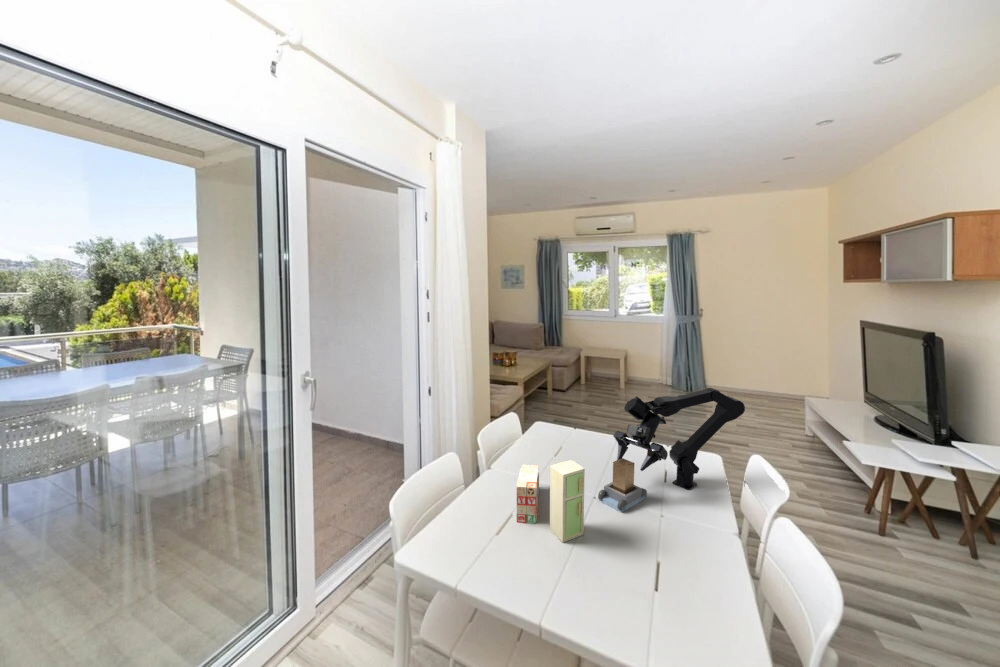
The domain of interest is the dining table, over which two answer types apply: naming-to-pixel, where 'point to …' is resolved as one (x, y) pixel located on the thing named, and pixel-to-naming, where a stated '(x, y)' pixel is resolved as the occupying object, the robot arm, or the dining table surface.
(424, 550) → the dining table surface
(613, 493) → the chassis
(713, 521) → the dining table surface
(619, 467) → the tall tan wooden block
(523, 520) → the stack of blocks
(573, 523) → the toy refrigerator
